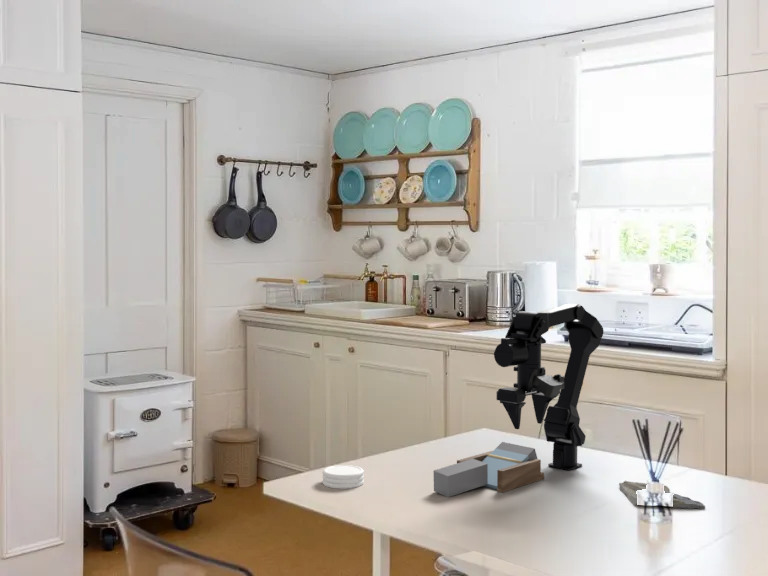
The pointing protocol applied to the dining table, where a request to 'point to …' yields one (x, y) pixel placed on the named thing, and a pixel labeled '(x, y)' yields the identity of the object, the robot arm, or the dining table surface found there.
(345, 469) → the coaster
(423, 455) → the dining table surface
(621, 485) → the fossil rock
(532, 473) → the hatch frame
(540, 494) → the dining table surface
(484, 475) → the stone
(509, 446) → the trapdoor
